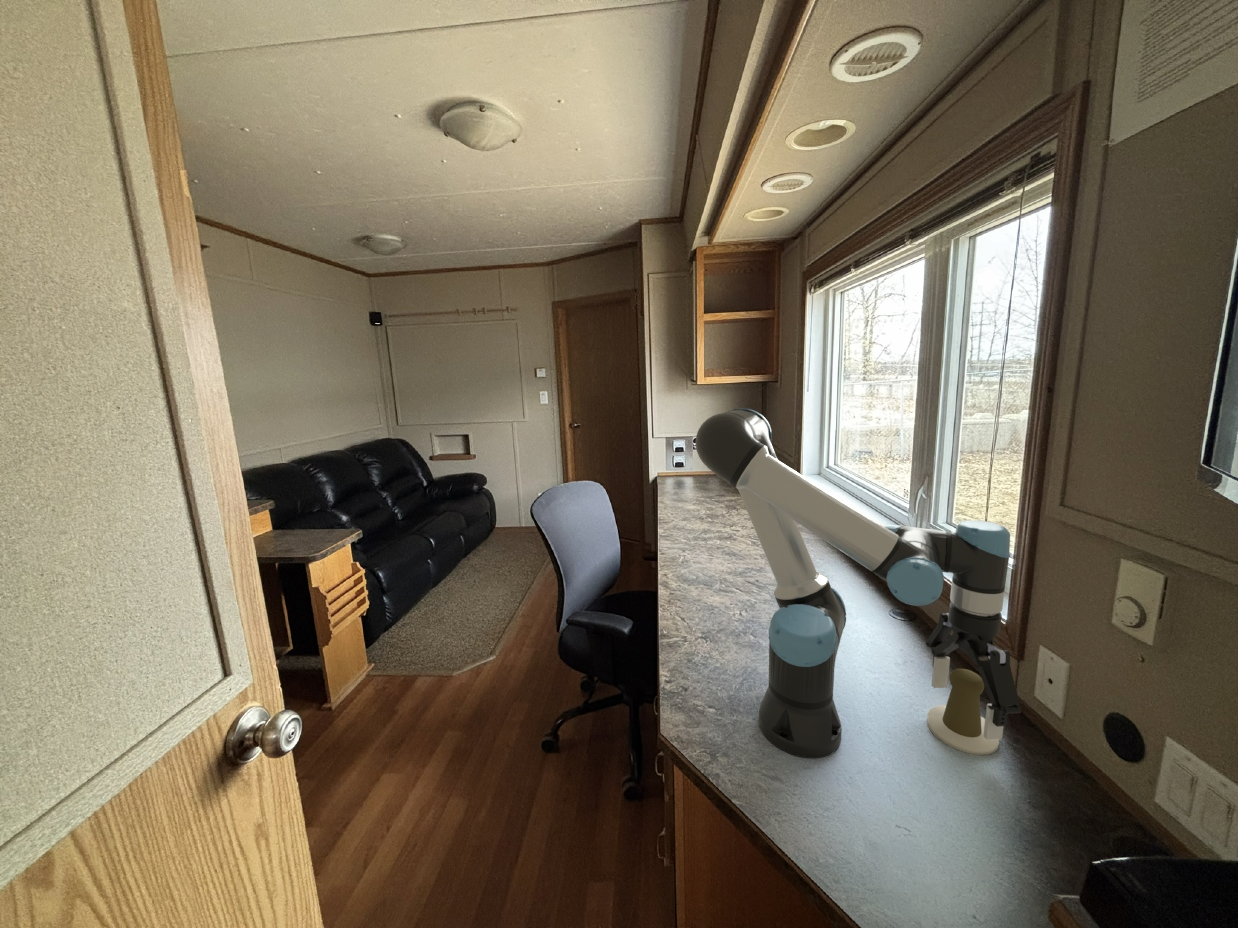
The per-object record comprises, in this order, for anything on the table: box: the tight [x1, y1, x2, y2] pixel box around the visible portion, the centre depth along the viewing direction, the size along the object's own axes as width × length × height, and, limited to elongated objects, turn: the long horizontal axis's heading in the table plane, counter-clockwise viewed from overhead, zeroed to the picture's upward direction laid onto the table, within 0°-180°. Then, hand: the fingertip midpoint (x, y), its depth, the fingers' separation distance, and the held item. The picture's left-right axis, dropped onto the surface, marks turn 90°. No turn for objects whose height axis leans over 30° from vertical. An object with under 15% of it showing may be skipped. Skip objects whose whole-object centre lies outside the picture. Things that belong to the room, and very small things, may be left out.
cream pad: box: [926, 704, 1000, 756], centre depth 89 cm, size 11×11×2 cm
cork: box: [942, 668, 985, 737], centre depth 88 cm, size 6×6×11 cm
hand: (963, 710), depth 89 cm, fingers open, 13 cm apart
